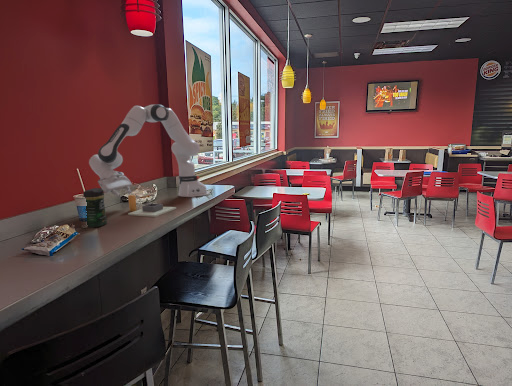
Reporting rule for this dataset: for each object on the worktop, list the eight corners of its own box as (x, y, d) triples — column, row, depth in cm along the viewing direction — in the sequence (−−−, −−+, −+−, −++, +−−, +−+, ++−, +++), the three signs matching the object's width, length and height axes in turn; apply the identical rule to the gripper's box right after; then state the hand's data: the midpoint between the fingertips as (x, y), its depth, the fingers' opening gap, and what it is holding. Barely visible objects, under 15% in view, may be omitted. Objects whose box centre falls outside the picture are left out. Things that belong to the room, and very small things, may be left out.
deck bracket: (128, 215, 186) (127, 208, 186) (150, 207, 205) (150, 200, 204) (155, 216, 180) (154, 209, 180) (176, 208, 199) (175, 202, 198)
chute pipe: (128, 211, 196) (126, 196, 195) (132, 209, 200) (131, 194, 198) (133, 211, 195) (132, 196, 193) (138, 210, 199) (136, 195, 197)
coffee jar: (99, 228, 162) (95, 190, 158) (84, 228, 162) (79, 190, 159) (110, 222, 171) (106, 186, 168) (95, 222, 172) (91, 187, 169)
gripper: (98, 176, 188) (114, 194, 187) (124, 172, 207) (138, 188, 206) (93, 183, 191) (109, 201, 189) (119, 179, 209) (133, 194, 208)
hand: (124, 194), depth 197 cm, fingers open, 8 cm apart
